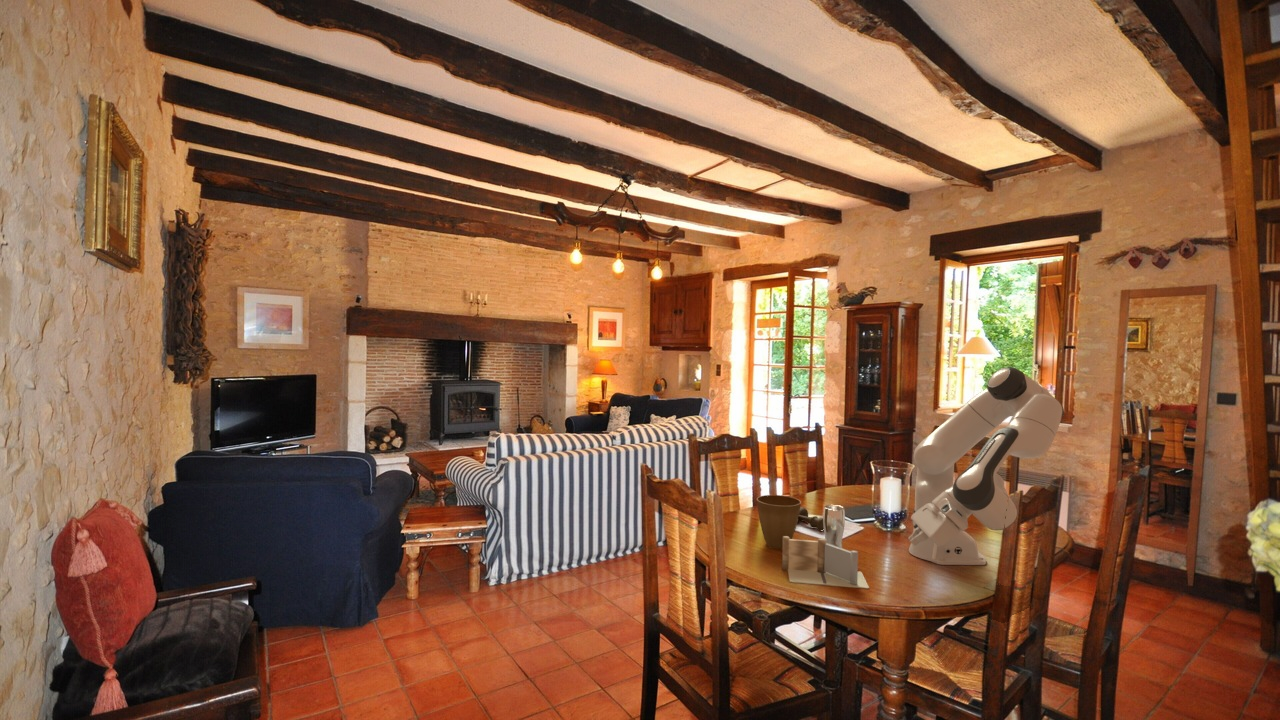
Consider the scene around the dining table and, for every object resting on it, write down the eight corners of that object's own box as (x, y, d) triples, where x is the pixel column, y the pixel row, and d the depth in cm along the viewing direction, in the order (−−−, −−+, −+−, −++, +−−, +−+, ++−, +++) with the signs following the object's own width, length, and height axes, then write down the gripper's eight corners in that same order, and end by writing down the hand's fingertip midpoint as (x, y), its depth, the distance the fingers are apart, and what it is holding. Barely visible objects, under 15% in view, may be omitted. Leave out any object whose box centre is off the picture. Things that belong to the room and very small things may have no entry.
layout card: (861, 572, 179) (861, 571, 179) (869, 588, 167) (869, 587, 167) (787, 566, 183) (787, 565, 183) (789, 582, 171) (789, 581, 171)
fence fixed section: (824, 570, 180) (825, 538, 180) (825, 573, 177) (826, 541, 177) (782, 567, 182) (782, 535, 182) (782, 570, 180) (782, 538, 180)
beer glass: (824, 546, 201) (824, 503, 201) (845, 550, 198) (846, 506, 198) (820, 553, 195) (821, 508, 194) (842, 556, 192) (843, 511, 191)
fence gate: (823, 572, 177) (824, 542, 177) (827, 571, 178) (828, 541, 178) (854, 585, 168) (855, 553, 168) (858, 583, 169) (859, 552, 169)
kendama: (815, 535, 215) (774, 520, 231) (832, 531, 221) (790, 516, 237) (816, 519, 215) (775, 505, 231) (833, 515, 220) (791, 502, 237)
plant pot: (797, 556, 192) (797, 507, 192) (752, 549, 198) (752, 502, 197) (803, 542, 206) (803, 497, 205) (760, 536, 212) (761, 492, 211)
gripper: (928, 492, 175) (893, 523, 177) (952, 511, 155) (912, 546, 157) (944, 508, 174) (909, 538, 176) (970, 529, 154) (930, 563, 156)
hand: (910, 542), depth 166 cm, fingers closed
